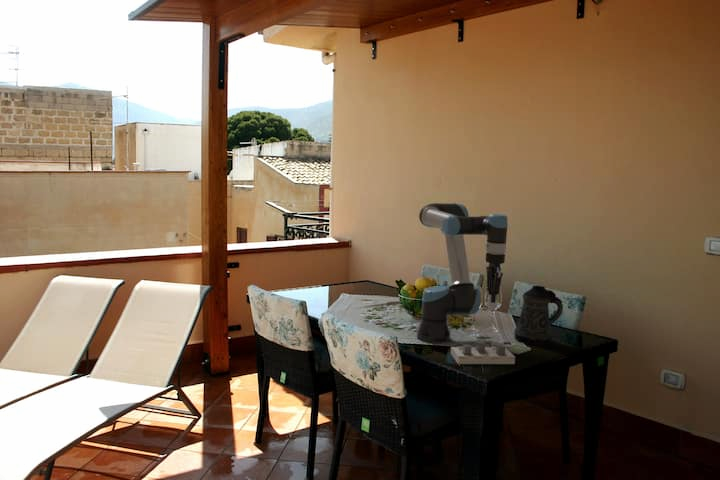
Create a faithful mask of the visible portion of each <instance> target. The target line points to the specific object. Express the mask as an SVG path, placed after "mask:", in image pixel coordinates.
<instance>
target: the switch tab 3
mask: <svg viewBox="0 0 720 480" xmlns="http://www.w3.org/2000/svg"><path fill="white" fill-rule="evenodd" d="M505 348H506V347H505V346H504V345H497V347H496V353H497V355H498V356H506V355H505Z"/></svg>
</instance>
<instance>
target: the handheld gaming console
mask: <svg viewBox="0 0 720 480" xmlns="http://www.w3.org/2000/svg"><path fill="white" fill-rule="evenodd" d="M497 345H504V346H505V347H506V349H507V350H508V351H509V352H511V353H512V354H514V355H520V354H523V353H526V352H530V351H531V349H532V348H531V347H528V346H525V345H521V344H518V343H514V342H511V341H507V340H503V339H502V340H498V341H495V342H491V343H490V347H492V346H493V347H497Z"/></svg>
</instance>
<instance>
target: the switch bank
mask: <svg viewBox="0 0 720 480" xmlns="http://www.w3.org/2000/svg"><path fill="white" fill-rule="evenodd" d="M471 347H472V348H471V355H466V356H464V354H463V353H462V352H463V346H450V356H451V357H452V358H453V359H454V361H455V362H456V363H457V365H515V363H516V356H515V354H514V353H512V352H509V351H508V350H507V349H506V348H505V355H506V356H498V355H497V353H496V347H492V346H485V353H479V352H478V351H477V350H476V346H471Z"/></svg>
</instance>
